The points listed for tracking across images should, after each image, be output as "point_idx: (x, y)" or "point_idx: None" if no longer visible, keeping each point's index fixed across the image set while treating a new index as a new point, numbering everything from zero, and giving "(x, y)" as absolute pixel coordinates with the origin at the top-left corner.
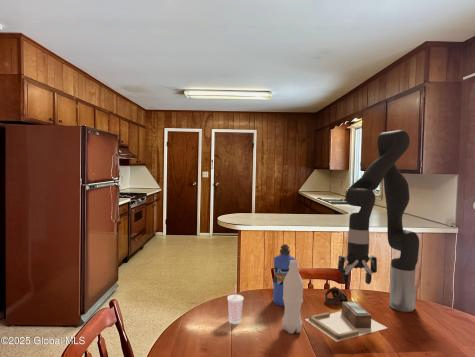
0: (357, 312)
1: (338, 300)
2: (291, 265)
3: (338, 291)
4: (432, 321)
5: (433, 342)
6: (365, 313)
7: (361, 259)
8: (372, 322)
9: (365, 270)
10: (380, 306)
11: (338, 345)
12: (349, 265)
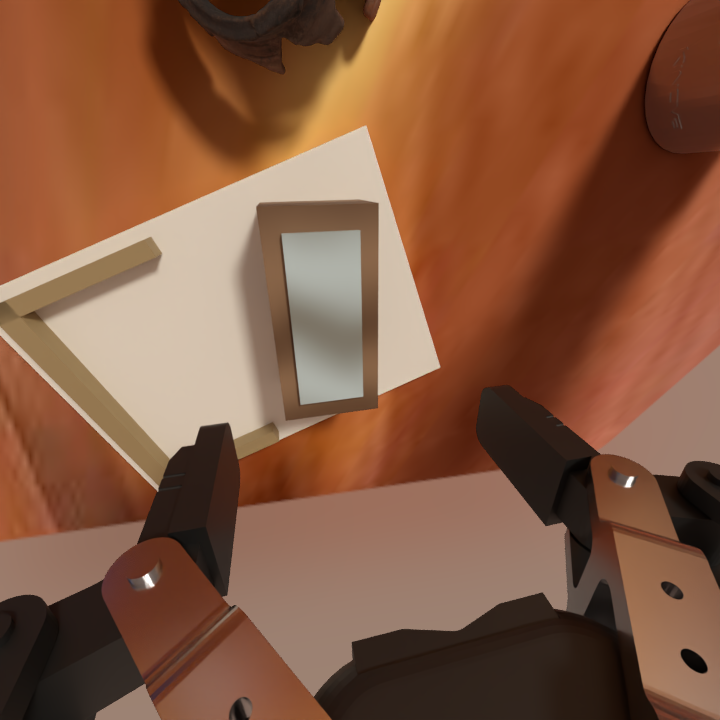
0: (307, 394)
1: (266, 51)
2: None
3: None
4: (687, 261)
5: None
6: (353, 396)
7: None
8: (399, 319)
9: (592, 495)
10: (600, 37)
11: None
12: (279, 693)
